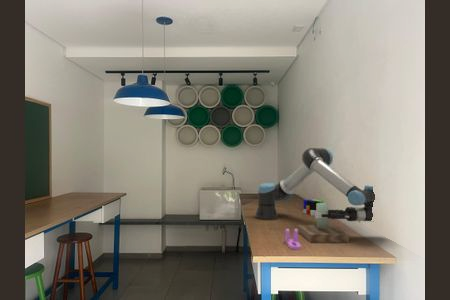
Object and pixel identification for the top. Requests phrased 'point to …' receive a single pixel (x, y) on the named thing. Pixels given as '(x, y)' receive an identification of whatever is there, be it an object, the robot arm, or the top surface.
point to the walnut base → (323, 233)
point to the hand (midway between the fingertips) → (312, 214)
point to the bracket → (292, 240)
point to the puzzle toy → (310, 205)
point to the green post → (322, 209)
